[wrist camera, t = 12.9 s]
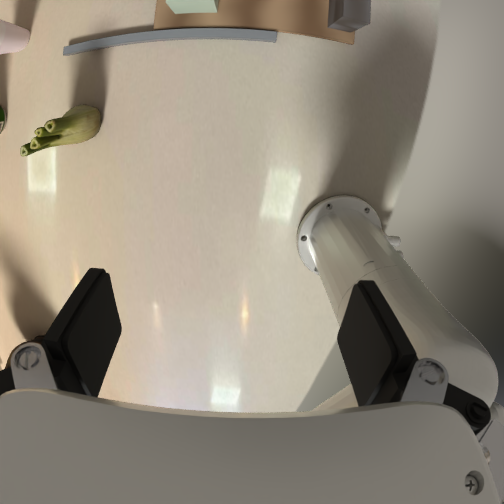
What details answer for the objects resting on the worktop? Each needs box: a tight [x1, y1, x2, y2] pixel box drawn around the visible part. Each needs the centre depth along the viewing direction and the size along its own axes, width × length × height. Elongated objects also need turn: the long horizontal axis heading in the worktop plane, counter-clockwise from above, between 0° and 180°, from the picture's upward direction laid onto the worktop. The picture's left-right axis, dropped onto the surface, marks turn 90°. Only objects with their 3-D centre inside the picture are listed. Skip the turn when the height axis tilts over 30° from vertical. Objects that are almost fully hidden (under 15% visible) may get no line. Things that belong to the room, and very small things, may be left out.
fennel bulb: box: [20, 105, 101, 156], centre depth 27 cm, size 6×5×12 cm
